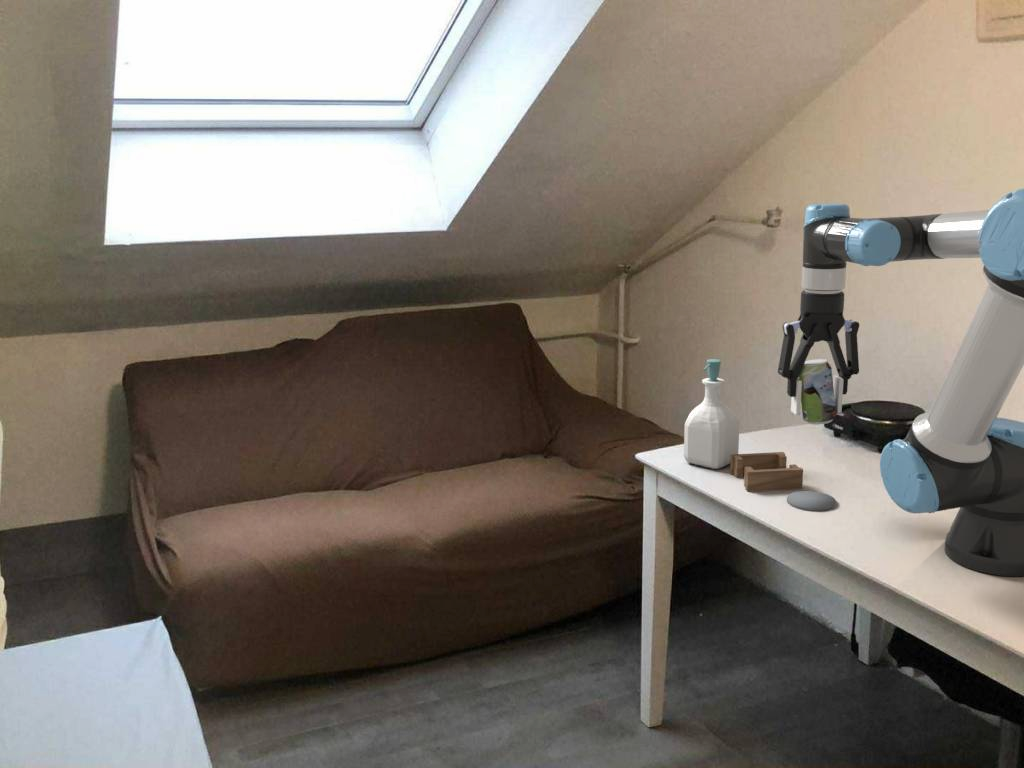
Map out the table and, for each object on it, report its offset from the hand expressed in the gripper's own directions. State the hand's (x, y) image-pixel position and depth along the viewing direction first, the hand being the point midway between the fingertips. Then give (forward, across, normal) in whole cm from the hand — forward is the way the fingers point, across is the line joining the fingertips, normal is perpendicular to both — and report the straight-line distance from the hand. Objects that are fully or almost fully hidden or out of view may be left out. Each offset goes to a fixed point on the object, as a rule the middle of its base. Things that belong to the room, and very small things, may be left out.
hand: (816, 411), depth 179 cm
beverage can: (+2, 0, 0) cm, 2 cm away
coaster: (+18, 0, 0) cm, 18 cm away
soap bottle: (+18, +12, -26) cm, 34 cm away
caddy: (+18, +4, -13) cm, 23 cm away
